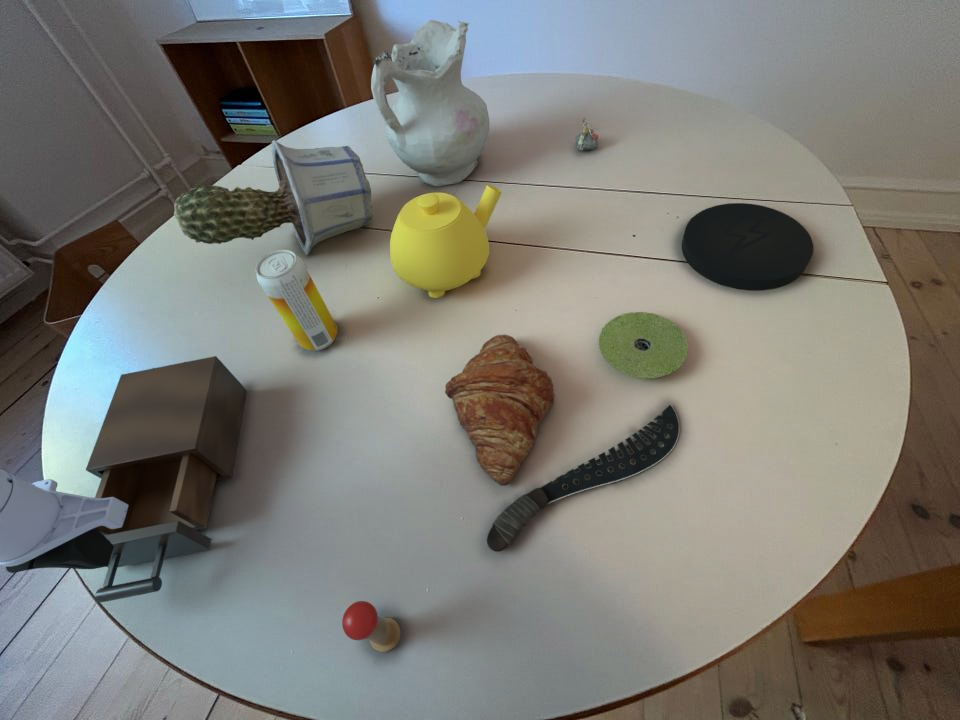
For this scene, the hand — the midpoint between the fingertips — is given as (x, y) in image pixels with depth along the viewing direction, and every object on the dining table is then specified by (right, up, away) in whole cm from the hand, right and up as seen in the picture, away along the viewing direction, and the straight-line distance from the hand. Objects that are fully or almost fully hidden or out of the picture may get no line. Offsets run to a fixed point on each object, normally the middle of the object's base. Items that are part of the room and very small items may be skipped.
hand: (104, 557), depth 47 cm
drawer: (0, 0, +10) cm, 10 cm away
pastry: (+40, +13, +16) cm, 44 cm away
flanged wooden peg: (+27, -8, +1) cm, 28 cm away
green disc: (+58, +20, +19) cm, 64 cm away
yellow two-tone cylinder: (+12, +22, +27) cm, 37 cm away
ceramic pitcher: (+29, +57, +51) cm, 82 cm away
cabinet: (-2, +8, +18) cm, 20 cm away
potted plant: (+4, +40, +42) cm, 58 cm away
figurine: (+58, +61, +50) cm, 98 cm away
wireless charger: (+77, +36, +28) cm, 90 cm away
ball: (+26, -4, -4) cm, 27 cm away
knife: (+49, +5, +9) cm, 50 cm away
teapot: (+32, +35, +34) cm, 58 cm away
